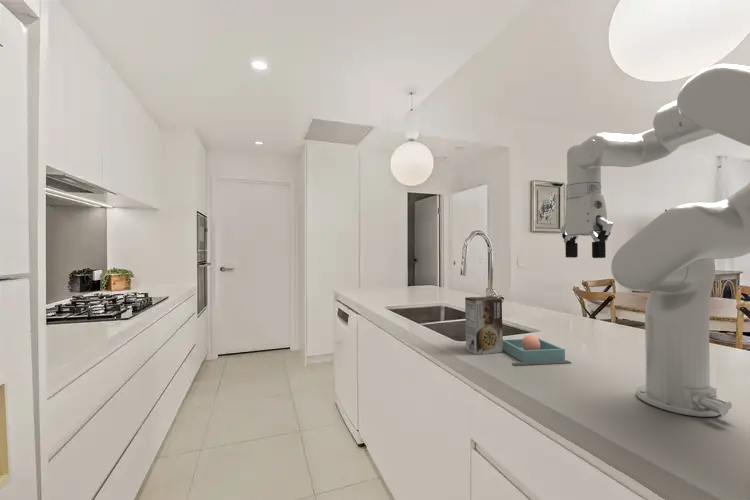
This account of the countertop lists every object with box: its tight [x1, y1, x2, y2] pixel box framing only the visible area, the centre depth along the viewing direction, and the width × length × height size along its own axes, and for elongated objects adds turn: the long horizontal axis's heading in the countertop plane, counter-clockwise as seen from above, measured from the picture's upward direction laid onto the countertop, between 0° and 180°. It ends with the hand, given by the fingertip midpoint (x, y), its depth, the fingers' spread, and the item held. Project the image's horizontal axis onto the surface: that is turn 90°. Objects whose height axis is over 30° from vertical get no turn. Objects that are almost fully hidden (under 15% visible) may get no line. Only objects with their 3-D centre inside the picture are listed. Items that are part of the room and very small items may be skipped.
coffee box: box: [464, 295, 504, 356], centre depth 104 cm, size 9×6×16 cm
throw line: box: [511, 360, 572, 367], centre depth 91 cm, size 2×16×1 cm, turn 97°
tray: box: [503, 337, 566, 363], centre depth 99 cm, size 12×12×3 cm
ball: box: [522, 334, 540, 350], centre depth 100 cm, size 5×5×5 cm
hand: (584, 257), depth 89 cm, fingers open, 9 cm apart
